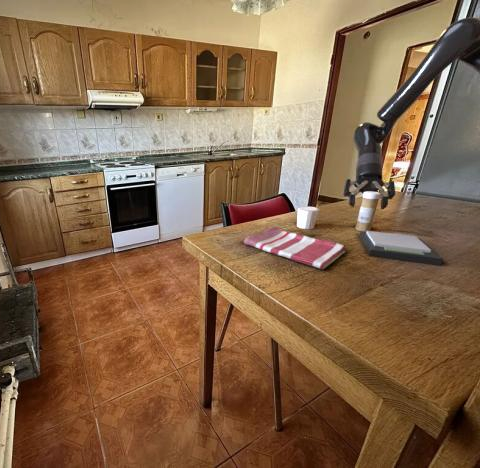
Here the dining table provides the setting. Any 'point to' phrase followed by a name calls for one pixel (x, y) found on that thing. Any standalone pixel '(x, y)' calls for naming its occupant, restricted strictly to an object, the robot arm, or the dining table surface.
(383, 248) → the scale
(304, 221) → the white cup
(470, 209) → the dining table surface
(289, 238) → the dish towel
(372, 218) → the sprinkles bottle
